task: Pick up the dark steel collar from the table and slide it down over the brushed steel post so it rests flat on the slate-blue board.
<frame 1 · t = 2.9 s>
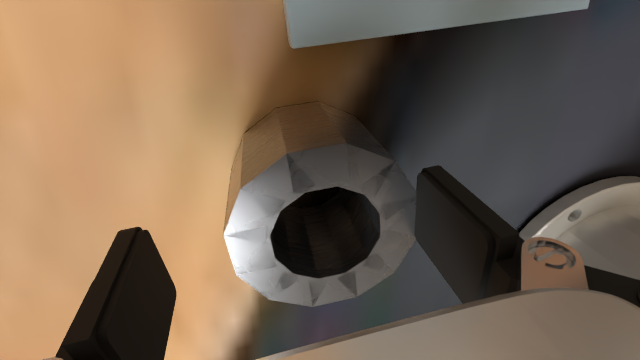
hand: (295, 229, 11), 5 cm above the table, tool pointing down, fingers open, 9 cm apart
steel collar: (307, 173, 16), on the table, touching gripper
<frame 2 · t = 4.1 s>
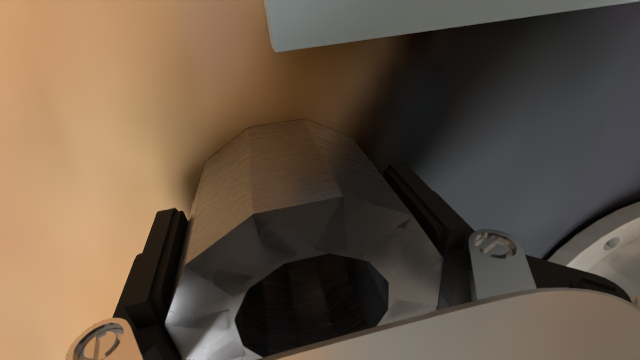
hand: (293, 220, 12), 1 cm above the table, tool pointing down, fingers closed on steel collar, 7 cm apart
steel collar: (290, 207, 13), on the table, touching gripper
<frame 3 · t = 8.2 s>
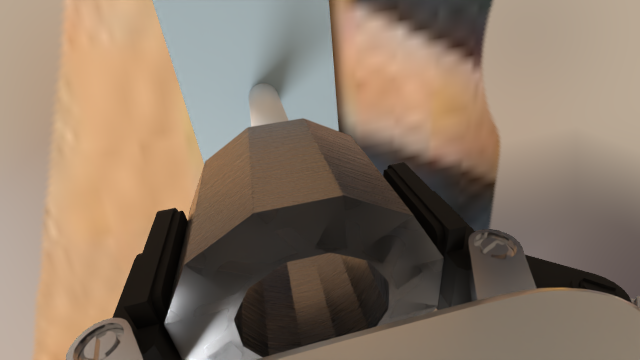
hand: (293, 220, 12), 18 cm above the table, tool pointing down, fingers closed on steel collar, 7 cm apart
steel collar: (290, 207, 13), point 18 cm above the table, touching gripper
post board: (262, 93, 28), on the table
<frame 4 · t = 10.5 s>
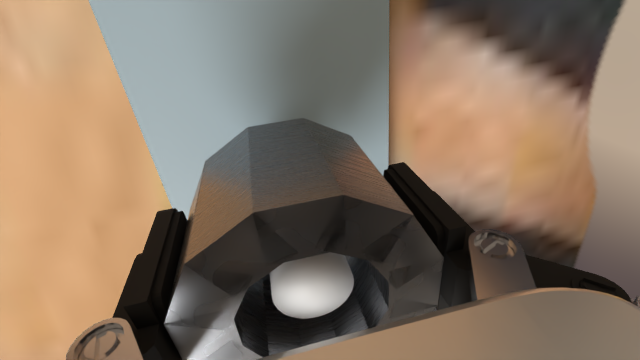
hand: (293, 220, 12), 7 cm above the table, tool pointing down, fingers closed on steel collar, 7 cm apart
steel collar: (290, 207, 13), point 6 cm above the table, touching gripper
post board: (277, 147, 18), on the table
when the fingers open (3 cm above the table, at t = 12.3 s): steel collar stays where it is, resting on post board.
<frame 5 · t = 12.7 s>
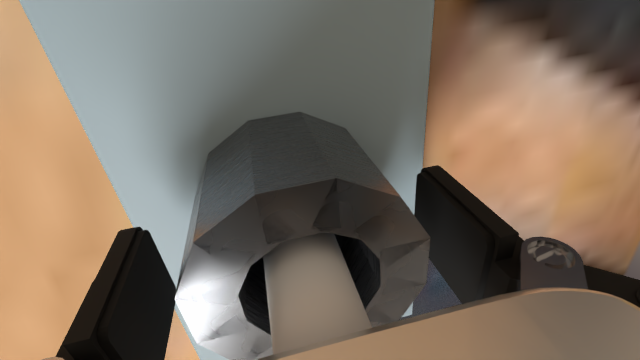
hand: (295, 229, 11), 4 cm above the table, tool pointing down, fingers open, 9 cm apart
steel collar: (289, 196, 13), point 1 cm above the table, touching post board
post board: (282, 177, 15), on the table
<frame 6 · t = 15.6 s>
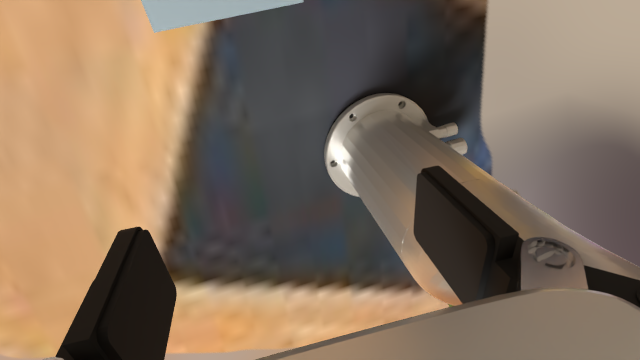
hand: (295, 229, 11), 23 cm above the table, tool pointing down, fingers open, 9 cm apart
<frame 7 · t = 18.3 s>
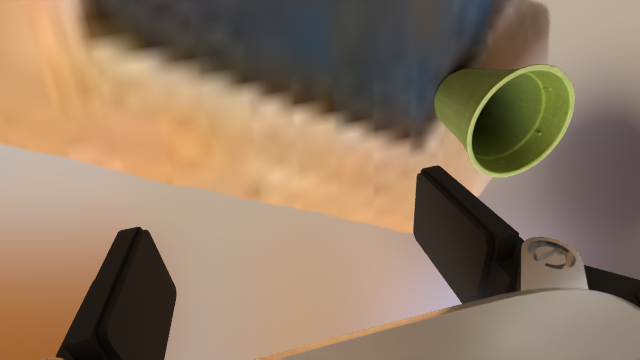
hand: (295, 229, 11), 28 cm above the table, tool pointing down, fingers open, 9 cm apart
plant pot: (456, 95, 43), on the table
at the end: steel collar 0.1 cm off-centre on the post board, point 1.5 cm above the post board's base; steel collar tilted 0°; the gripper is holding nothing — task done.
